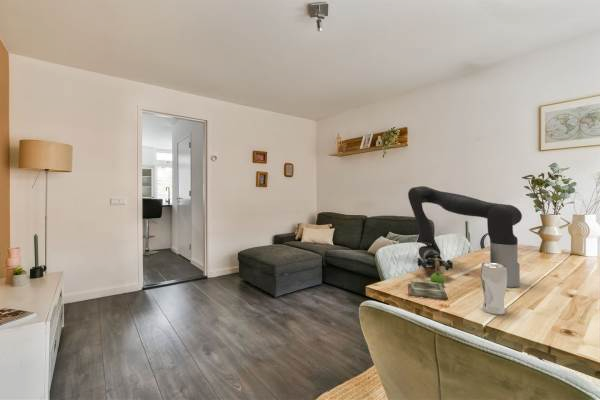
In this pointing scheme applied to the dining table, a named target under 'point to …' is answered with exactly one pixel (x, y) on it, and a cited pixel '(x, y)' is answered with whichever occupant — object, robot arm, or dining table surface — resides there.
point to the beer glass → (494, 287)
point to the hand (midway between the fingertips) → (436, 267)
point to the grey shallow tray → (427, 290)
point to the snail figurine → (437, 274)
